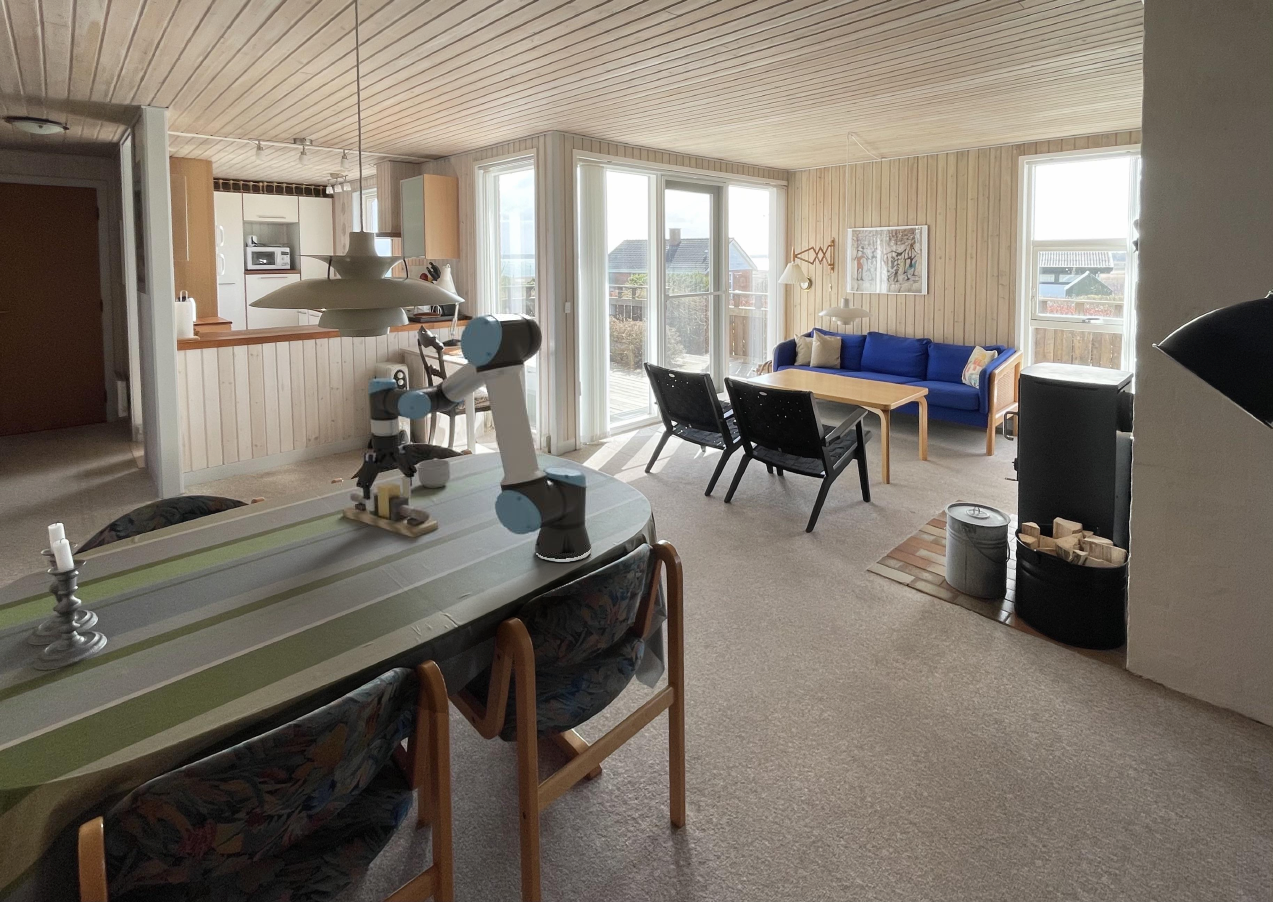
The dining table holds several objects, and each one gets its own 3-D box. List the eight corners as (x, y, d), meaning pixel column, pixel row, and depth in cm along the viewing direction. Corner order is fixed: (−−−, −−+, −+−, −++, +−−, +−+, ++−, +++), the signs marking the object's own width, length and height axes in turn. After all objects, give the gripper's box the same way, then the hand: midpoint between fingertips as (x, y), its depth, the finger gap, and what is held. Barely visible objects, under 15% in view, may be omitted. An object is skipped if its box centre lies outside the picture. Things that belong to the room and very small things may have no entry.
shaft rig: (437, 528, 218) (437, 502, 216) (414, 537, 210) (413, 510, 208) (367, 508, 233) (365, 483, 231) (342, 516, 225) (341, 490, 223)
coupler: (402, 514, 221) (400, 485, 219) (390, 519, 218) (388, 489, 215) (390, 511, 224) (388, 482, 222) (378, 515, 220) (376, 486, 218)
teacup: (445, 490, 252) (445, 467, 250) (413, 489, 252) (412, 466, 250) (456, 478, 266) (455, 457, 264) (425, 477, 266) (424, 455, 264)
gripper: (409, 423, 227) (412, 491, 232) (339, 439, 206) (344, 512, 211) (427, 427, 223) (430, 495, 228) (358, 443, 202) (362, 517, 208)
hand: (389, 503), depth 220 cm, fingers open, 13 cm apart
